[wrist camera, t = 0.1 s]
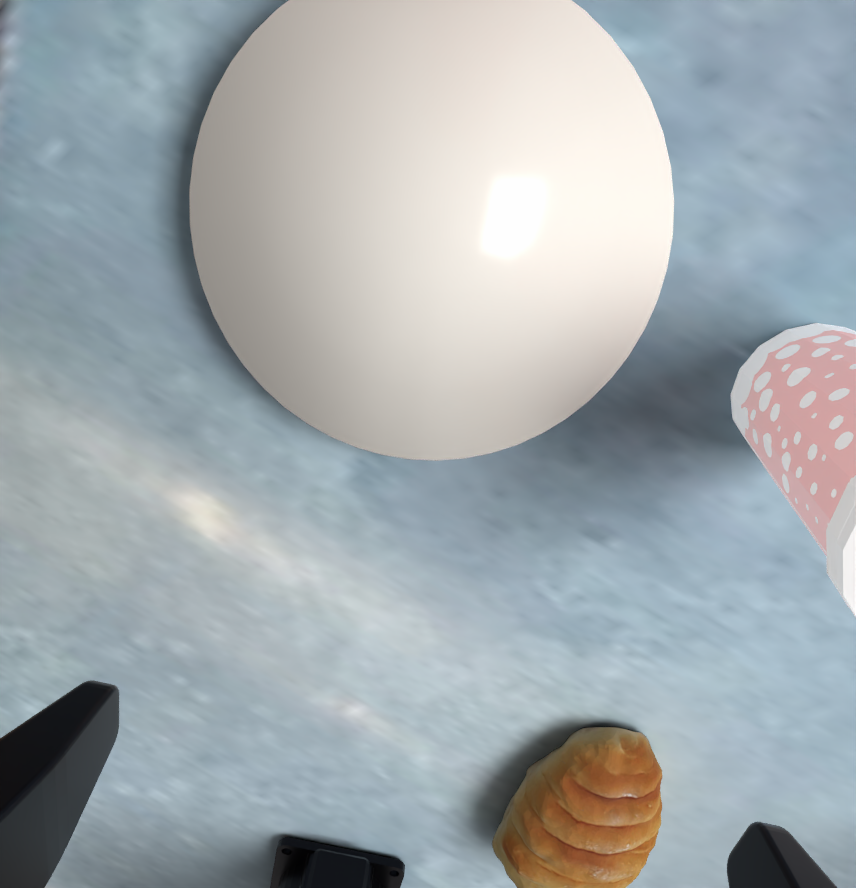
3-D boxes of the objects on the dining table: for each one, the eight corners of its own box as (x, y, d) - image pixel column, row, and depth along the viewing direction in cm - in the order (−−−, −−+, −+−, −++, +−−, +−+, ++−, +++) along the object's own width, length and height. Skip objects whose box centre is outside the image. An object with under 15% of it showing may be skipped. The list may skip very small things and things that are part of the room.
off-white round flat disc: (578, 482, 23) (583, 499, 22) (192, 396, 23) (178, 409, 22) (741, 32, 17) (759, 26, 16) (221, -95, 17) (204, -111, 16)
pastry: (542, 697, 28) (553, 775, 25) (692, 729, 29) (722, 811, 25) (486, 831, 32) (488, 915, 29) (617, 858, 33) (635, 944, 29)
